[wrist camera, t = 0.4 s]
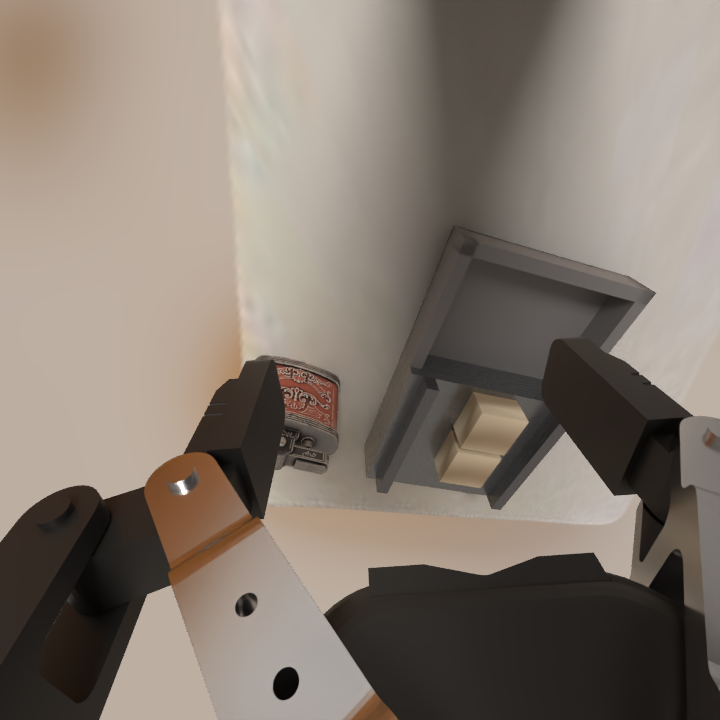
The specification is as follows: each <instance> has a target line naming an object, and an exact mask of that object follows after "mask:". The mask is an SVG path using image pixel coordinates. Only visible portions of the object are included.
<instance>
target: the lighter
mask: <svg viewBox="0 0 720 720" xmlns="http://www.w3.org/2000/svg"><path fill="white" fill-rule="evenodd" d="M266 359H273V360H274V361H275V364H276V367H277V372H278V376H279V381H280V385H281V390H282V394H283V399H284V404H285V423H284V428H283V432H282V437H281V442H280V446H279V451H278V455H277V460H276V465H275V469H274V470H279V469H281V468H282V467H283V466H290V467H293V468H294V469H299V470H303V471H308V472H312V473H317V474H323V473H324V472H326V470H327V469H328V460H329V455H331V454H333V453H334V452H335V451H336V450H337V448H338V433H337V432H336V429H337V400H338V394H339V391H340V381H339V379H338V377H337V376H336V375H334V374H332V373H330V372H328V371H326V370H324V369H322V368H319V367H317V366H314V365H311V364H308V363H305V362H303V361H298V360H294V359H290V358H285V357H278V356H271V355H262V356H259V357H258V358H256V359H255V360H266Z"/></svg>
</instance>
